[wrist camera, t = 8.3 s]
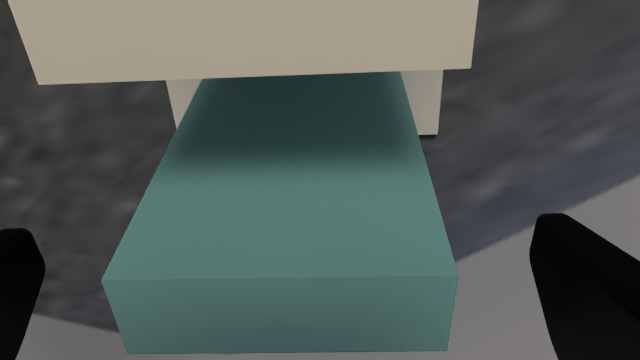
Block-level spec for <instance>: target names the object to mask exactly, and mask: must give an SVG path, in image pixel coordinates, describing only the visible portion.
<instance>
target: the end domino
mask: <svg viewBox="0 0 640 360" xmlns="http://www.w3.org/2000/svg"><path fill="white" fill-rule="evenodd" d="M101 281H102V284H103V287H104V290H105V292H106V295H107V298H108V301H109V304H110V306H111V309H112V312H113V315H114V317H115V320H116V323H117V326H118V328H119V331H120V334H121V337H122V340H123V342H124V345H125V348H126V350H127V353H128V354H191V353H294V352H297V353H298V352H405V351H447V347H448V341H449V334H450V327H451V321H452V314H453V308H454V300H455V294H456V288H457V281H458V273H457V269H456V265H455V262H454V258H453V255H452V251H451V248H450V244H449V241H448V237H447V234H446V230H445V227H444V223H443V220H442V216H441V213H440V209H439V206H438V202H437V199H436V195H435V192H434V188H433V185H432V181H431V178H430V174H429V171H428V167H427V164H426V160H425V157H424V153H423V150H422V146H421V143H420V139H419V136H418V132H417V129H416V125H415V122H414V118H413V115H412V111H411V108H410V104H409V100H408V97H407V93H406V90H405V86H404V83H403V79H402V76H401V72H400V71H389V72H363V73H337V74H310V75H284V76H258V77H232V78H205V79H202V80H201V82H200V84H199V86H198V88H197V90H196V92H195V94H194V96H193V98H192V100H191V102H190V104H189V106H188V108H187V110H186V112H185V114H184V116H183V118H182V120H181V122H180V124H179V126H178V128H177V130H176V132H175V134H174V136H173V138H172V140H171V142H170V144H169V146H168V148H167V150H166V152H165V154H164V156H163V158H162V160H161V162H160V164H159V166H158V168H157V170H156V172H155V174H154V176H153V178H152V180H151V182H150V184H149V186H148V188H147V190H146V192H145V194H144V196H143V198H142V200H141V202H140V204H139V206H138V208H137V210H136V212H135V214H134V216H133V218H132V220H131V222H130V224H129V226H128V228H127V230H126V232H125V234H124V236H123V238H122V240H121V242H120V244H119V246H118V248H117V250H116V252H115V254H114V256H113V258H112V260H111V262H110V264H109V266H108V268H107V270H106V272H105V274H104V276H103V278H102V280H101Z"/></svg>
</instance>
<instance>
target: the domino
mask: <svg viewBox="0 0 640 360" xmlns="http://www.w3.org/2000/svg"><path fill="white" fill-rule="evenodd" d="M478 1H479V0H8V2H9V5H10V8H11V11H12V13H13V16H14V19H15V22H16V24H17V27H18V30H19V32H20V35H21V38H22V41H23V43H24V46H25V49H26V52H27V54H28V57H29V60H30V63H31V65H32V68H33V71H34V73H35V76H36V79H37V82H38V84H39V85H48V84H74V83H100V82H127V81H153V80H179V79H205V78H232V77H258V76H284V75H310V74H337V73H363V72H389V71H415V70H442V69H468V68H471V61H472V52H473V44H474V35H475V27H476V18H477V10H478Z"/></svg>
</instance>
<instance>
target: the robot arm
mask: <svg viewBox="0 0 640 360" xmlns="http://www.w3.org/2000/svg"><path fill="white" fill-rule="evenodd" d="M529 255H530V264H531V267H532V272H533V275H534V279H535V283H536V286H537V290H538V294H539V298H540V302H541V305H542V309H543V313H544V317H545V321H546V324H547V328H548V332H549V335H550V338H551V341H552V344H553V347H554V349H555V352H556V355H557V357H558V360H640V261H638V260H637V259H635V258H634V257H632V256H631V255H629V254H628V253H626V252H624V251H623V250H621V249H619V248H618V247H617V246H615V245H613V244H612V243H610V242H609V241H607V240H606V239H604V238H602V237H601V236H599V235H598V234H596V233H595V232H593V231H591V230H590V229H588V228H587V227H585V226H584V225H582V224H580V223H579V222H577V221H575V220H574V219H573V218H571V217H569V216H568V215H566V214H563V213H549V214H541V215H540V216H539V217H538V218H537V221H536V225H535V229H534V234H533V238H532V242H531V247H530V254H529ZM44 276H45V263H44V260H43V257H42V255H41V253H40V251H39V249H38V246H37V244H36V242H35V240H34V237H33V235H32V233H31V232H30V231H29V230H27V229H25V228H12V229H3V230H0V360H15V359H16V357H17V354H18V352H19V349H20V347H21V344H22V341H23V339H24V336H25V333H26V330H27V327H28V324H29V321H30V318H31V315H32V312H33V309H34V306H35V303H36V300H37V297H38V294H39V291H40V288H41V285H42V282H43V279H44Z"/></svg>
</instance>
